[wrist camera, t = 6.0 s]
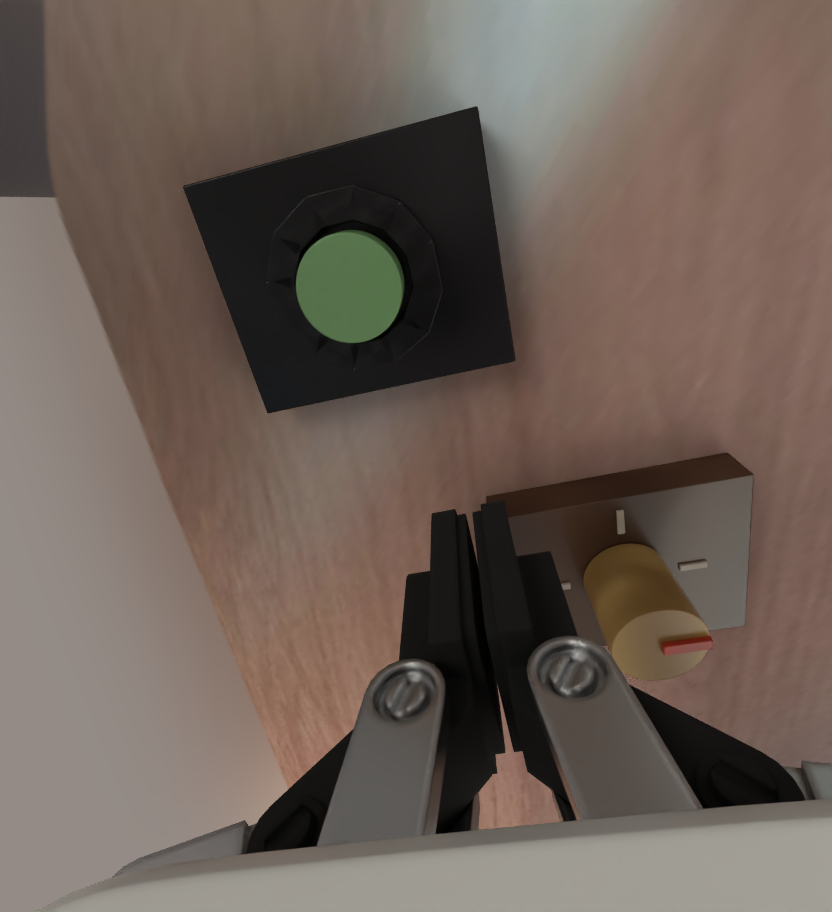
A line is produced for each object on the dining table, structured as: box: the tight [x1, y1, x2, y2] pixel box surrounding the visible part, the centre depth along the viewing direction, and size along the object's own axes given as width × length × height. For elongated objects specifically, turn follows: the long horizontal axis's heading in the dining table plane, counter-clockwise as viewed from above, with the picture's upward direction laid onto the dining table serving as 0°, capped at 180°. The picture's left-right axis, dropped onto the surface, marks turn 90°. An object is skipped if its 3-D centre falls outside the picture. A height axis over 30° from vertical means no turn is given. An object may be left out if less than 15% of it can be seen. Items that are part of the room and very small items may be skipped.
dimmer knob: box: [583, 543, 713, 681], centre depth 26 cm, size 4×4×5 cm
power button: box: [296, 230, 404, 343], centre depth 20 cm, size 4×4×2 cm
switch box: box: [183, 106, 515, 413], centre depth 22 cm, size 12×10×4 cm
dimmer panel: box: [486, 453, 754, 646], centre depth 29 cm, size 13×10×3 cm
